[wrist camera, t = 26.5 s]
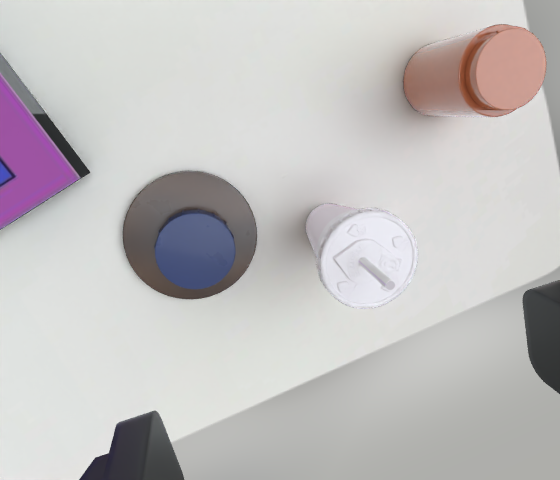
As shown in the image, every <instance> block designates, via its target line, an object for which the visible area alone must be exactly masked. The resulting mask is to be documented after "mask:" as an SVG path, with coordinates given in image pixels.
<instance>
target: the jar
mask: <svg viewBox="0 0 560 480" xmlns="http://www.w3.org/2000/svg"><path fill="white" fill-rule="evenodd" d="M545 73H546V56H545V51H544V49H543V46H542V44H541V42H540V41H539V40H538V38H536V36H535V35H534V34H533V33H531V32H529V31H528V30H526V29H525V28H521V27H517V26H511V25H506V24H499V25H494V26H490V27H487V28H483V29H480V30H476V31H473V32H470V33H466V34H463V35H459V36H456V37H452V38H449V39H445V40H442V41H439V42H435V43H432V44H428V45H426V46H424V47H422V48H421V49H419V50H418V51H417V52H416V53H415V54H414V55H413V56H412V58H411V59H410V61H409V62H408V64H407V67H406V69H405V73H404V80H403V85H404V92H405V95H406V98H407V100H408V102H409V103H410V105H411V106H412V107H413V108H414V109H415V110H416V111H418V112H419V113H421V114H424V115H427V116H456V117H499V116H503V115H506V114H509V113H511V112H512V111H514V110H516V109H517V108H519V107H521V106H523V105H525V104H526V103H528V102H529V101H530V100H531V99H532V98H533V97H534V96H535V95H536V94H537V92H538V91H539V89H540V87H541V85H542V83H543V80H544V77H545Z"/></svg>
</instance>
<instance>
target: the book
mask: <svg viewBox="0 0 560 480" xmlns="http://www.w3.org/2000/svg"><path fill="white" fill-rule="evenodd" d="M89 173H90V171H89V170H88V169H87V167H86V166H85V165H84V163H83V162H82V161H81V159H80V158H79V157H78V155H77V154H76V153H75V151H74V150H73V149H72V147H71V146H70V145H69V143H68V142H67V141H66V139H65V138H64V137H63V136H62V134H61V133H60V132H59V130H58V129H57V128H56V126H55V125H54V124H53V122H52V121H51V120H50V118H49V117H48V116H47V114H46V113H45V112H44V110H43V109H42V108H41V106H40V105H39V104H38V102H37V101H36V100H35V98H34V97H33V96H32V94H31V93H30V92H29V90H28V89H27V88H26V86H25V85H24V84H23V82H22V81H21V80H20V78H19V77H18V76H17V74H16V73H15V72H14V70H13V69H12V68H11V66H10V65H9V64H8V62H7V61H6V60H5V58H4V57H3V56H2V54H1V53H0V230H1V229H2V228H4V227H6V226H7V225H9V224H10V223H12V222H13V221H15V220H17V219H18V218H20V217H21V216H23V215H24V214H26V213H28V212H29V211H31V210H32V209H34V208H35V207H37V206H38V205H40V204H42V203H43V202H45V201H46V200H48V199H49V198H51V197H53V196H54V195H56V194H57V193H59V192H60V191H62V190H63V189H65V188H67V187H68V186H70V185H71V184H73V183H74V182H76V181H78V180H79V179H81V178H82V177H84V176H85V175H87V174H89Z"/></svg>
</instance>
